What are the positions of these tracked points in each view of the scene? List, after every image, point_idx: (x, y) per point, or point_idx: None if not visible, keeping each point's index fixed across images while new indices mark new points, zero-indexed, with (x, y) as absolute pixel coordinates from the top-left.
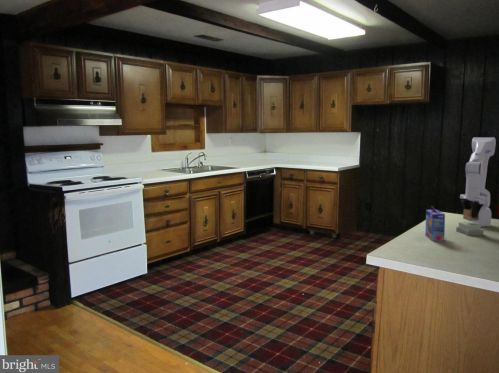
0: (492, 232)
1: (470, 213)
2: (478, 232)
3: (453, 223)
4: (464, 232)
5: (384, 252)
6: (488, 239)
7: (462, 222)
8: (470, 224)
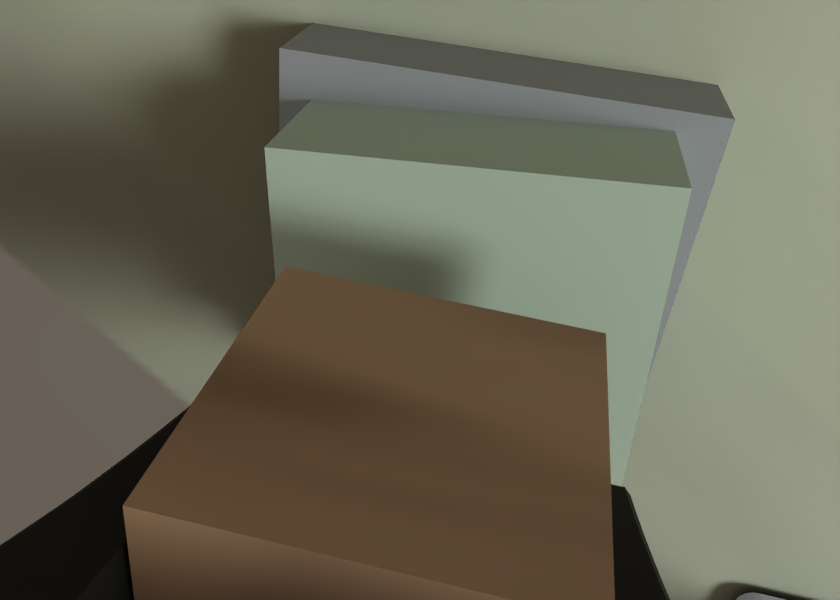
0: None
1: (174, 445)
2: None
3: None
4: (416, 52)
5: None
6: (13, 171)
7: (631, 276)
8: (365, 279)
